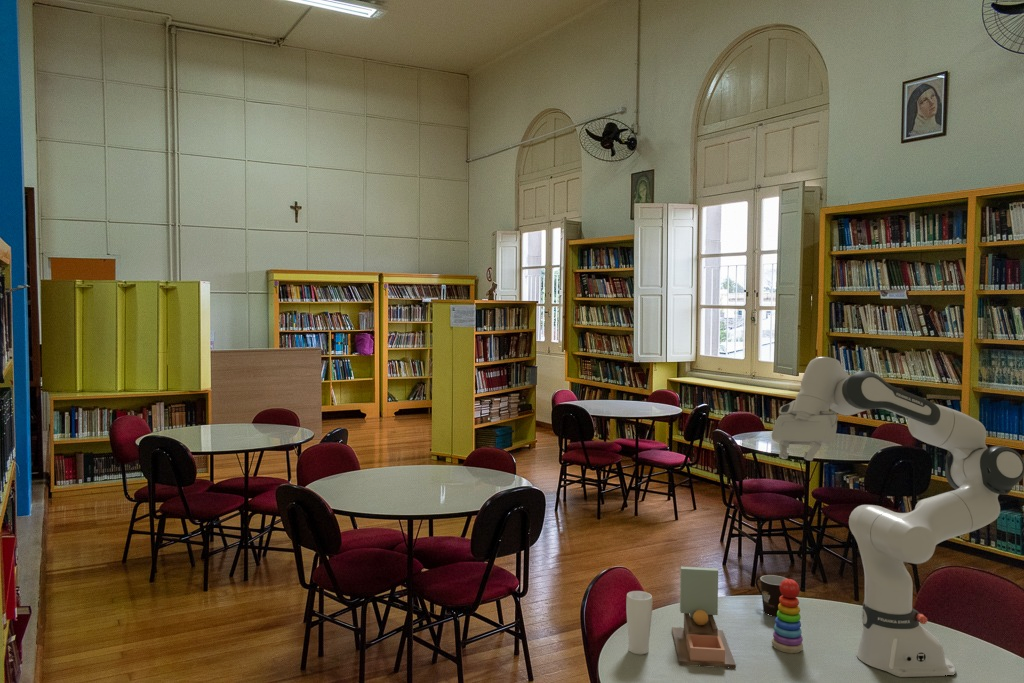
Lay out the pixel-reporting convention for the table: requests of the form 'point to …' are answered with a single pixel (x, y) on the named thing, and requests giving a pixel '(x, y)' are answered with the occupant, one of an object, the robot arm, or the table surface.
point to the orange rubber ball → (700, 617)
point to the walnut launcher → (694, 628)
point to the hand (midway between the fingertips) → (795, 458)
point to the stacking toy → (788, 619)
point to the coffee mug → (770, 592)
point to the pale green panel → (699, 590)
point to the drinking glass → (638, 621)
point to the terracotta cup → (705, 648)
